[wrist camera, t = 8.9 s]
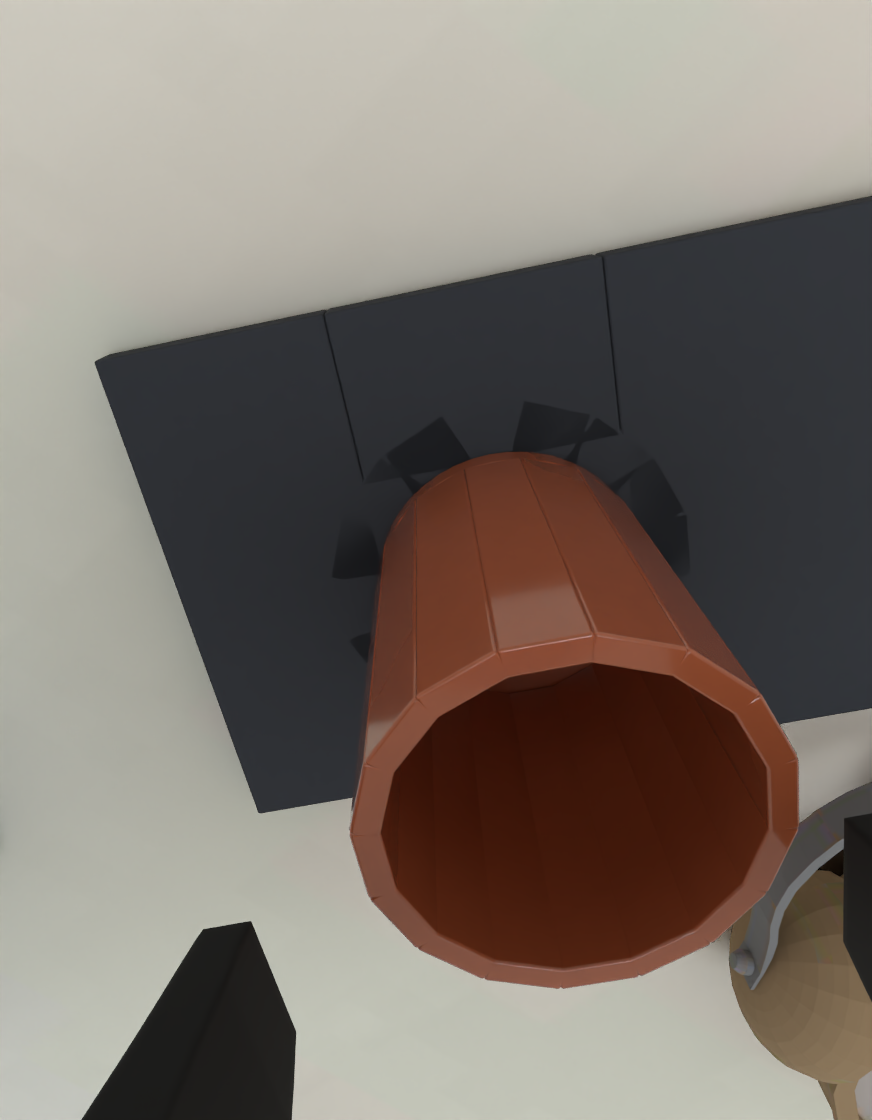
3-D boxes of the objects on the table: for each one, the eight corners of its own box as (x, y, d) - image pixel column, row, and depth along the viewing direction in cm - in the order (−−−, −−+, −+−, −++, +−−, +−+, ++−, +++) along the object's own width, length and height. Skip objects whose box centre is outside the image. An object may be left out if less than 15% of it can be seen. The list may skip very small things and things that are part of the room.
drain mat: (263, 792, 20) (258, 814, 19) (108, 354, 16) (92, 361, 15) (910, 680, 19) (931, 699, 18) (938, 182, 15) (965, 180, 14)
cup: (409, 710, 18) (404, 1015, 11) (350, 480, 16) (301, 685, 9) (653, 667, 18) (802, 953, 11) (630, 426, 16) (798, 596, 9)
